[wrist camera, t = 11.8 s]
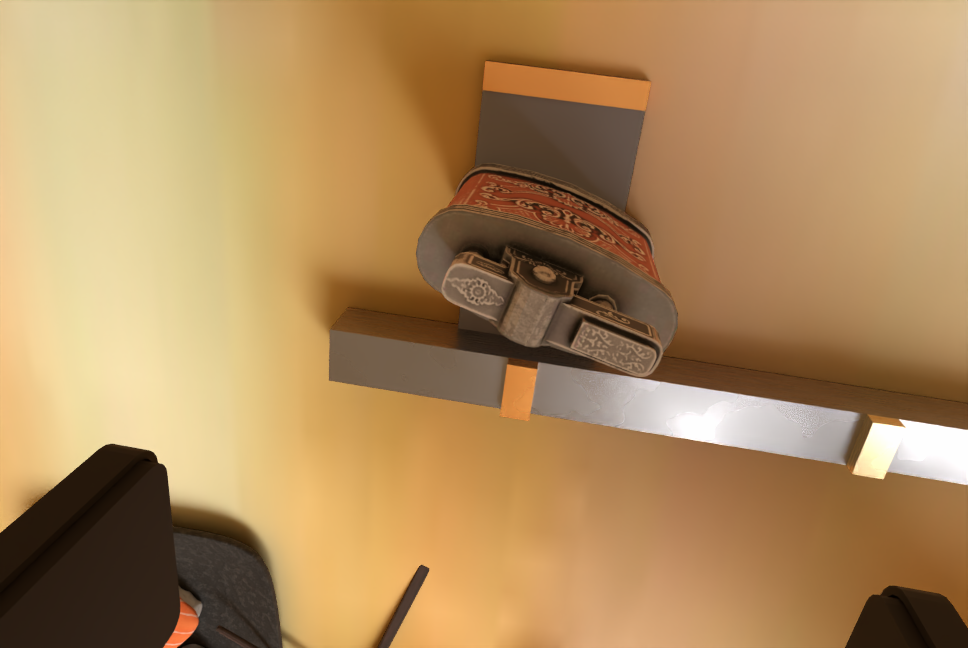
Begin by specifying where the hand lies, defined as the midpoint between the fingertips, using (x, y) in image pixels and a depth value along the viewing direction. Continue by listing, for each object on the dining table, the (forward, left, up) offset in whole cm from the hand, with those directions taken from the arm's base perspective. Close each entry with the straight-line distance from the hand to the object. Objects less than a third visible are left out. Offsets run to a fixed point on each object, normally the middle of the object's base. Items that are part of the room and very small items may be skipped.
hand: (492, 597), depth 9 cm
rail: (-7, +6, -20) cm, 22 cm away
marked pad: (0, 0, -20) cm, 20 cm away
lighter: (0, 0, -19) cm, 19 cm away
